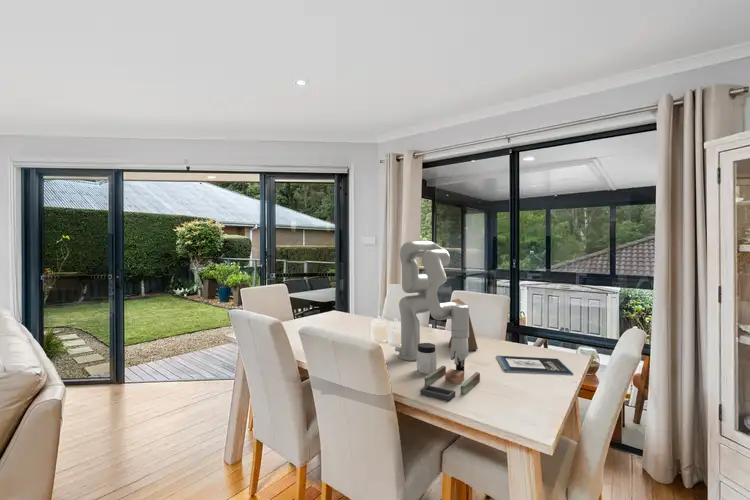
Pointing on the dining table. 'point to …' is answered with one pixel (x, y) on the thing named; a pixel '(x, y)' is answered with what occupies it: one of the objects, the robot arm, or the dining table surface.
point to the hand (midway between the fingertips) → (460, 374)
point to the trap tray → (437, 393)
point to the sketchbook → (532, 365)
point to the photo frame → (471, 340)
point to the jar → (426, 358)
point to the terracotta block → (454, 376)
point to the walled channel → (441, 372)
